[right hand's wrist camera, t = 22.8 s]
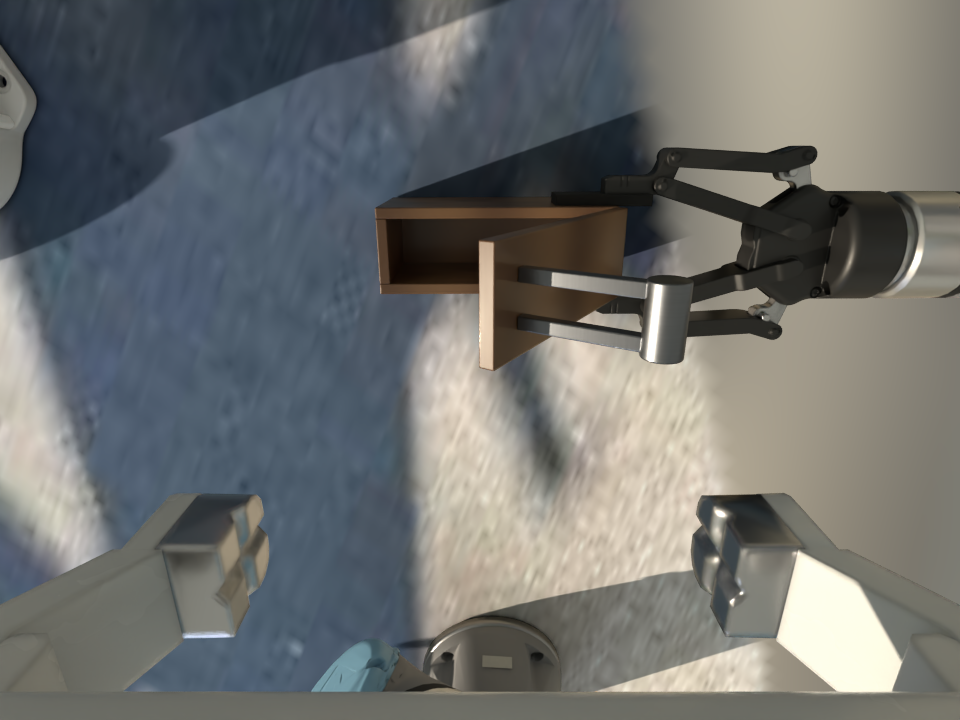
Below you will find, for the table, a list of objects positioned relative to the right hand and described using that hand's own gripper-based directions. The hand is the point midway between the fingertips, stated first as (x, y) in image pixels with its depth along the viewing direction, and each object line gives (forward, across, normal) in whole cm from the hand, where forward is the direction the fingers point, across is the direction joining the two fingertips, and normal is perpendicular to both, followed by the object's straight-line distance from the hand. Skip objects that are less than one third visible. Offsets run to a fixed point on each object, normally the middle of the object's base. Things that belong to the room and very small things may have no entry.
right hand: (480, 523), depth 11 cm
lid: (+22, +4, 0) cm, 23 cm away
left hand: (+32, +5, 0) cm, 32 cm away
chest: (+38, +1, 0) cm, 38 cm away
